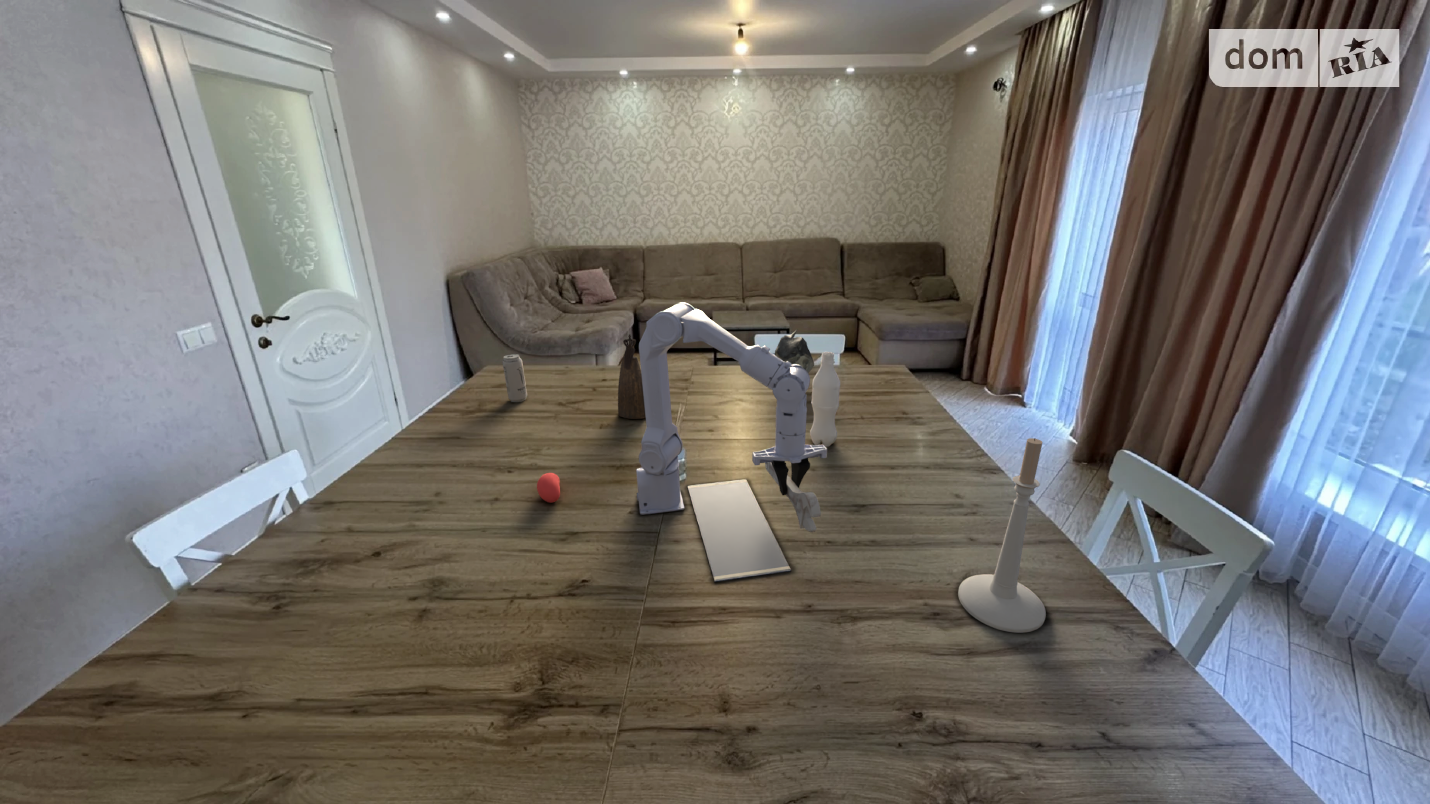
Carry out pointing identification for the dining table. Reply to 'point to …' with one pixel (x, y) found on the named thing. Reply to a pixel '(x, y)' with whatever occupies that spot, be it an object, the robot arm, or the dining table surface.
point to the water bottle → (825, 401)
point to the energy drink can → (514, 378)
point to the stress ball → (549, 487)
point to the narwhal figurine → (795, 351)
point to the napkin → (735, 531)
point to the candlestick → (1009, 566)
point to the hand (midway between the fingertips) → (788, 492)
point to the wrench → (800, 501)
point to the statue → (630, 385)
